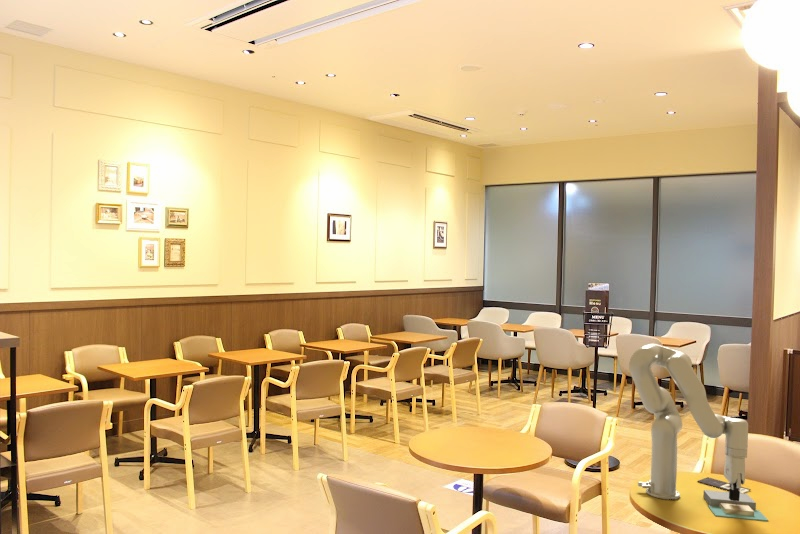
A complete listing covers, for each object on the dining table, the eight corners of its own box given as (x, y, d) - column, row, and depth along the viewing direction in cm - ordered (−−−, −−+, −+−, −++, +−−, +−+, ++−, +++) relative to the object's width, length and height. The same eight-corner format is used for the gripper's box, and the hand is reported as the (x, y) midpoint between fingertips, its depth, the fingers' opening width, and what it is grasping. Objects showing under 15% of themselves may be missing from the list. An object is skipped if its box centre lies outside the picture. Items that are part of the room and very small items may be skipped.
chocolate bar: (707, 477, 287) (750, 489, 273) (707, 479, 287) (750, 491, 273) (697, 480, 282) (740, 493, 268) (697, 483, 282) (740, 495, 268)
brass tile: (725, 513, 245) (725, 508, 245) (719, 506, 252) (719, 502, 252) (754, 515, 244) (754, 511, 244) (747, 508, 251) (747, 504, 251)
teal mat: (715, 516, 243) (715, 515, 243) (707, 506, 253) (707, 505, 253) (768, 521, 240) (768, 520, 240) (758, 511, 250) (758, 510, 250)
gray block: (710, 506, 253) (710, 498, 253) (703, 497, 263) (703, 489, 263) (755, 510, 250) (755, 502, 250) (746, 501, 260) (747, 493, 260)
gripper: (719, 445, 258) (717, 492, 259) (731, 456, 244) (729, 506, 244) (740, 447, 257) (738, 494, 257) (753, 458, 242) (751, 508, 243)
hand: (734, 499), depth 251 cm, fingers closed
